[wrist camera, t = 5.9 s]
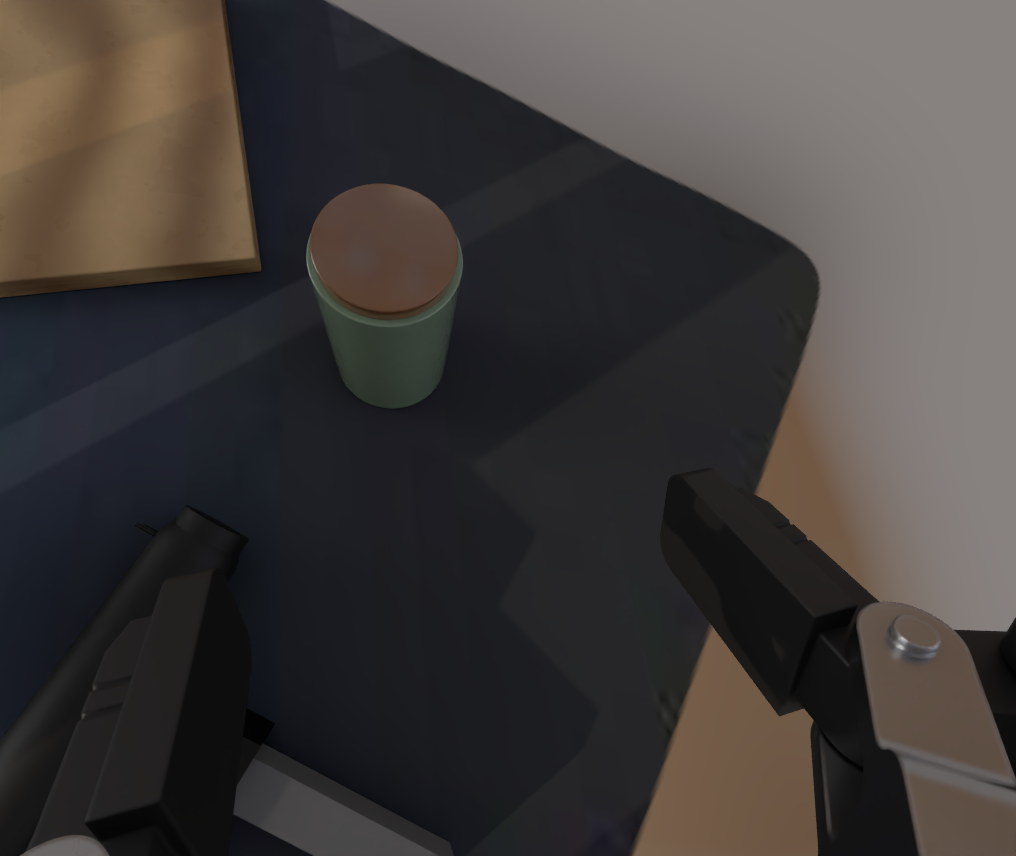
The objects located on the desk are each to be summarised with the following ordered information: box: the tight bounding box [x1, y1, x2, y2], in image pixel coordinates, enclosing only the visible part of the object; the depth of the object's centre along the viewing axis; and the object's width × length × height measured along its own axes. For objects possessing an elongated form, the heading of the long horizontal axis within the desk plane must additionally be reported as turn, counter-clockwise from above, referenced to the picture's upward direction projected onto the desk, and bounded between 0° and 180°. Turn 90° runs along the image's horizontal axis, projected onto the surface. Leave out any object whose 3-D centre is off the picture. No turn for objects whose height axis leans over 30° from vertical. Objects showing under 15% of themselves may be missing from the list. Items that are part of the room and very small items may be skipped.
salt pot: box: [306, 184, 463, 408], centre depth 21 cm, size 5×5×9 cm
